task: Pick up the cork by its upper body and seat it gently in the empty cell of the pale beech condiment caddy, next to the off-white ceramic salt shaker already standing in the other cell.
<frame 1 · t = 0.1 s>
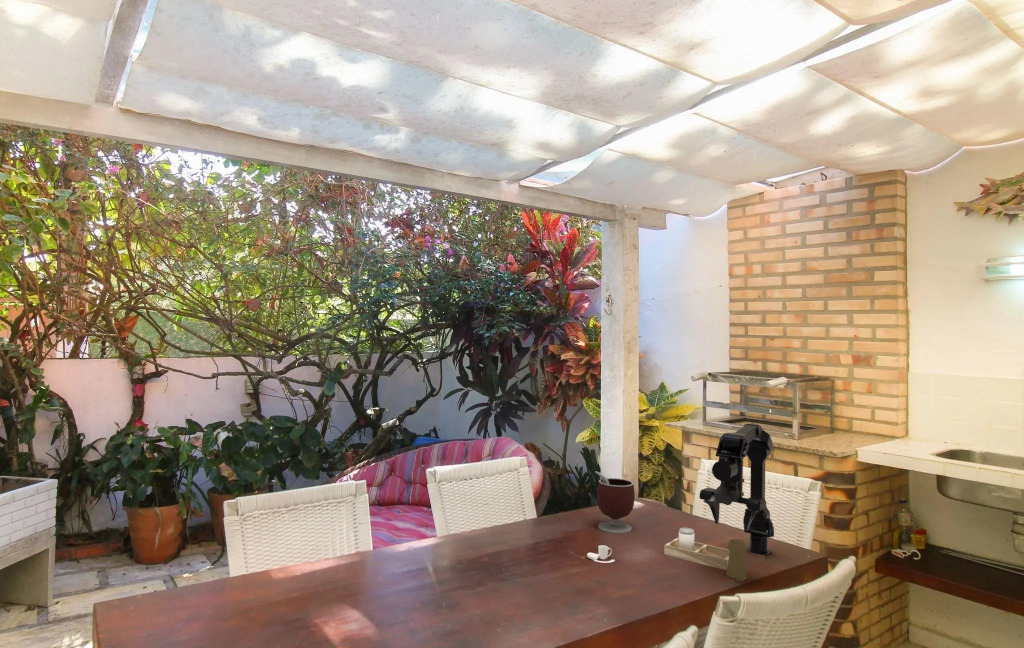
hand: (731, 527, 194), 15 cm above the table, fingers open, 9 cm apart
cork: (736, 577, 192), on the table
salt shaker: (686, 554, 210), point 1 cm above the table, touching caddy
teacup and saucer: (596, 557, 208), on the table
caddy: (700, 559, 207), on the table
mate gourd: (612, 528, 239), on the table
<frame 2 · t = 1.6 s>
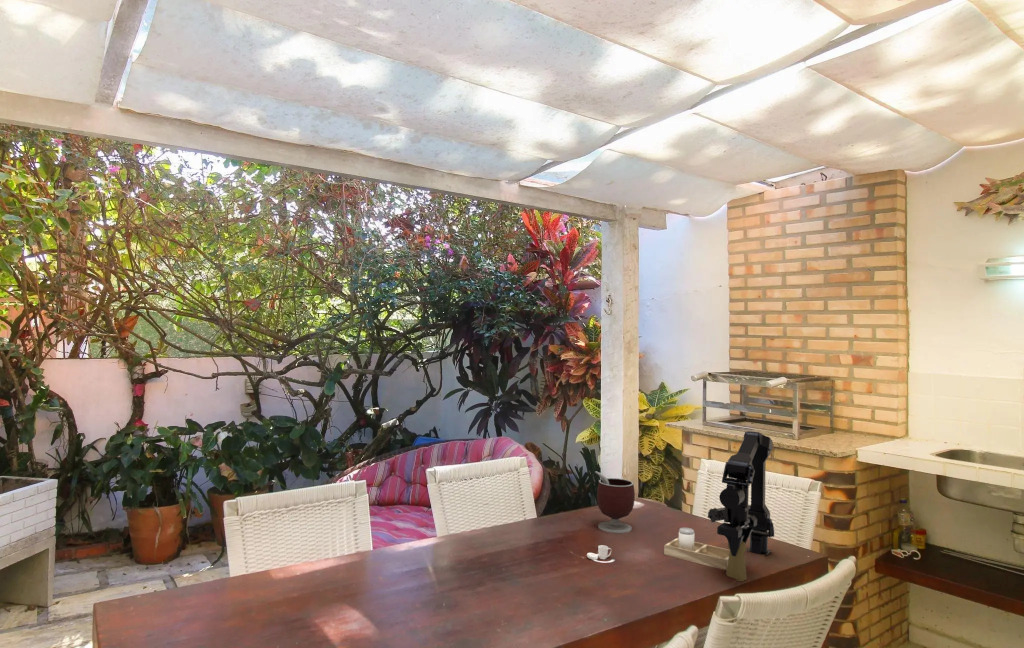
hand: (736, 553, 193), 7 cm above the table, fingers closed on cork, 5 cm apart
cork: (736, 577, 193), on the table, touching gripper
everything else where it was.
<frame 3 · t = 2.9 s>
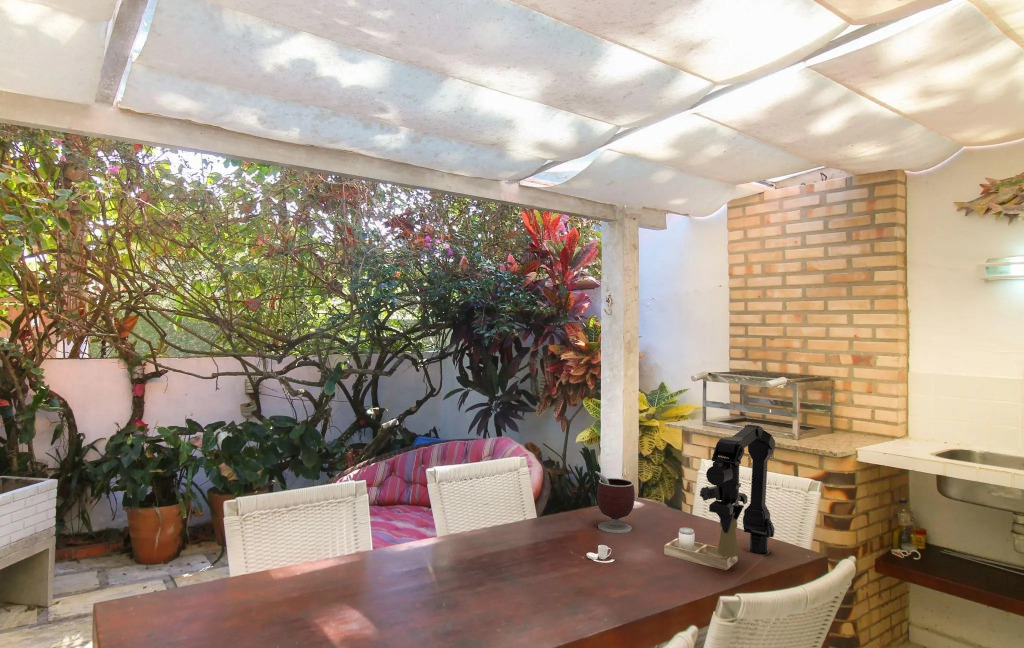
hand: (728, 530, 198), 12 cm above the table, fingers closed on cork, 5 cm apart
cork: (727, 553, 198), point 5 cm above the table, touching gripper
everything else where it was.
when the fingers open (9 cm above the table, at t = 4.3 s): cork drops 1 cm, resting on caddy.
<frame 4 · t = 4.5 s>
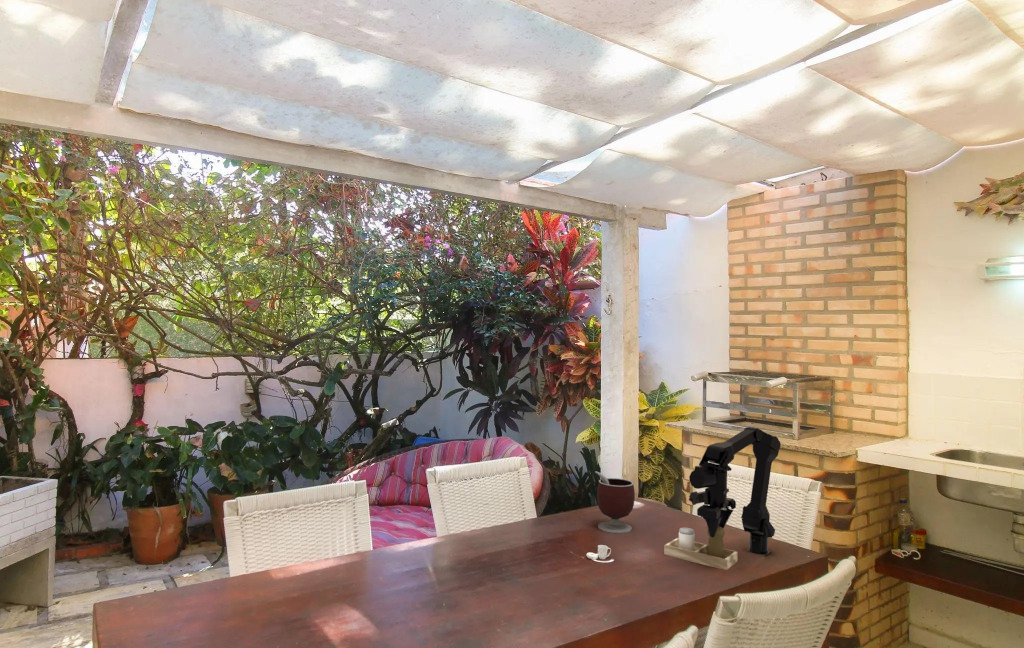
hand: (716, 534, 204), 9 cm above the table, fingers open, 7 cm apart
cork: (715, 561, 204), resting on caddy
everything else where it was.
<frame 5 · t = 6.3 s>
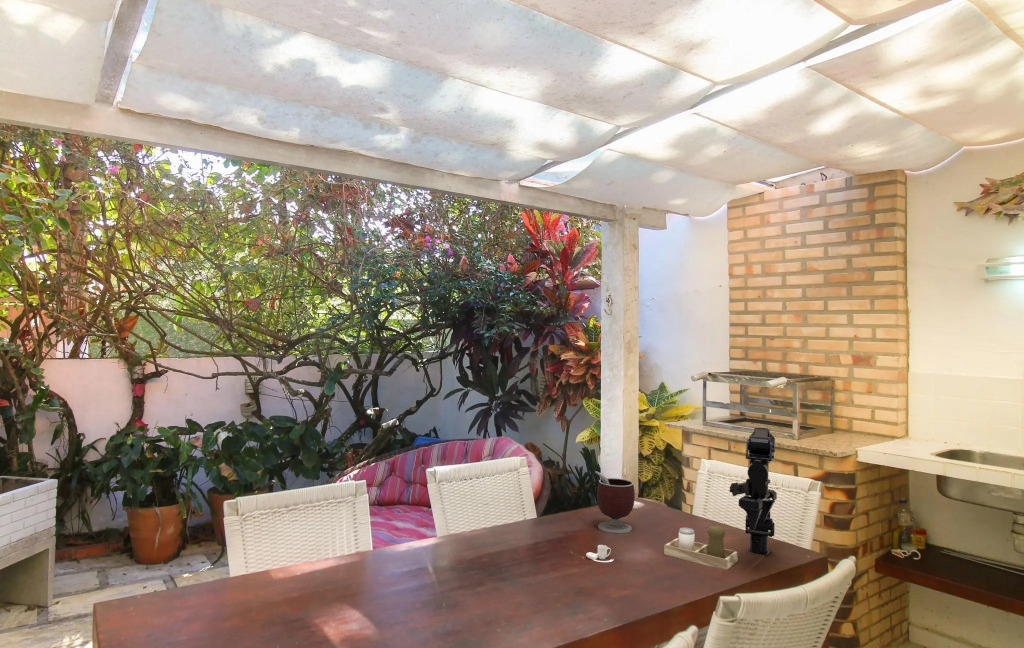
hand: (757, 525, 203), 13 cm above the table, fingers open, 9 cm apart
nothing on the table moved.
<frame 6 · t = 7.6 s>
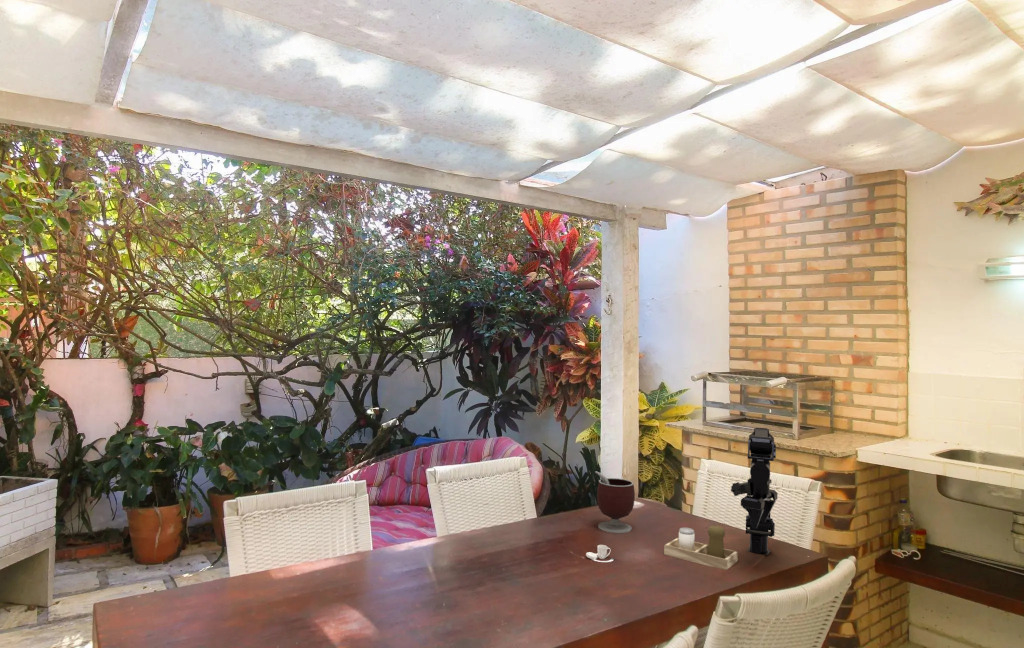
hand: (758, 525, 203), 13 cm above the table, fingers open, 9 cm apart
nothing on the table moved.
at the end: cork 0.1 cm from the target spot on the caddy, point 0.4 cm above the caddy's base; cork tilted 0°; the gripper is holding nothing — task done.
